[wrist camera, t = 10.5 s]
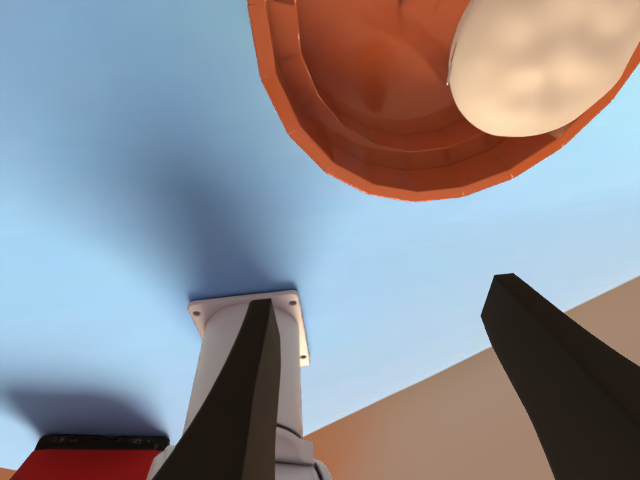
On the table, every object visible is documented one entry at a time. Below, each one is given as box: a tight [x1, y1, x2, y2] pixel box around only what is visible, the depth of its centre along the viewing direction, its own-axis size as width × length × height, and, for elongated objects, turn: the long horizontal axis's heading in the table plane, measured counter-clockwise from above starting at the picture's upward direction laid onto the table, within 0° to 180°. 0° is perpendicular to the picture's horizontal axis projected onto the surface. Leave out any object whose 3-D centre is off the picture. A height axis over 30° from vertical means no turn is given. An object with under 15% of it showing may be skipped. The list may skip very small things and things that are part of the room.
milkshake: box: [399, 0, 640, 137], centre depth 11 cm, size 4×5×10 cm
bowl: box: [247, 0, 640, 202], centre depth 14 cm, size 14×14×4 cm
